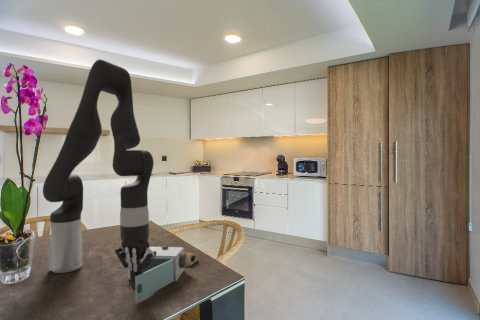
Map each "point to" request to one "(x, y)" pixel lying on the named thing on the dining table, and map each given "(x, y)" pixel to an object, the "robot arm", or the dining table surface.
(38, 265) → the dining table surface
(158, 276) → the door
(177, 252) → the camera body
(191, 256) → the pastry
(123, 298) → the dining table surface
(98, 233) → the dining table surface
